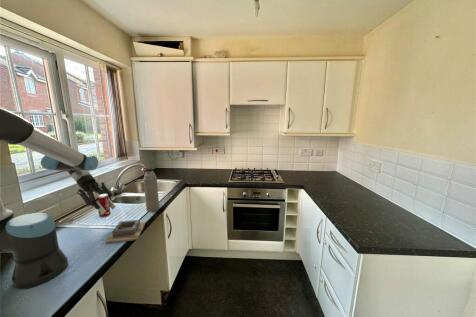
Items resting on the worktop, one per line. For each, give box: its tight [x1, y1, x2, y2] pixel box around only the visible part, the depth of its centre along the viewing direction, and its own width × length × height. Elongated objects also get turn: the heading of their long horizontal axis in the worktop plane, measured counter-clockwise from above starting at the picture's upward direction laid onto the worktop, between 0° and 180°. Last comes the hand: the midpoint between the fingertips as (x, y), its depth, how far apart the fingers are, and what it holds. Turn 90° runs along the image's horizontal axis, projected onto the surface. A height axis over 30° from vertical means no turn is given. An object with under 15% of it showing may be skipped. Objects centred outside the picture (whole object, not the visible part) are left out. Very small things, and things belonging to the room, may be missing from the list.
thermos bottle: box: [143, 168, 160, 212], centre depth 125 cm, size 8×8×28 cm
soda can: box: [96, 194, 111, 219], centre depth 102 cm, size 5×5×12 cm
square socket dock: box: [105, 219, 146, 244], centre depth 100 cm, size 16×14×4 cm
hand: (109, 210), depth 102 cm, fingers closed on soda can, 5 cm apart
